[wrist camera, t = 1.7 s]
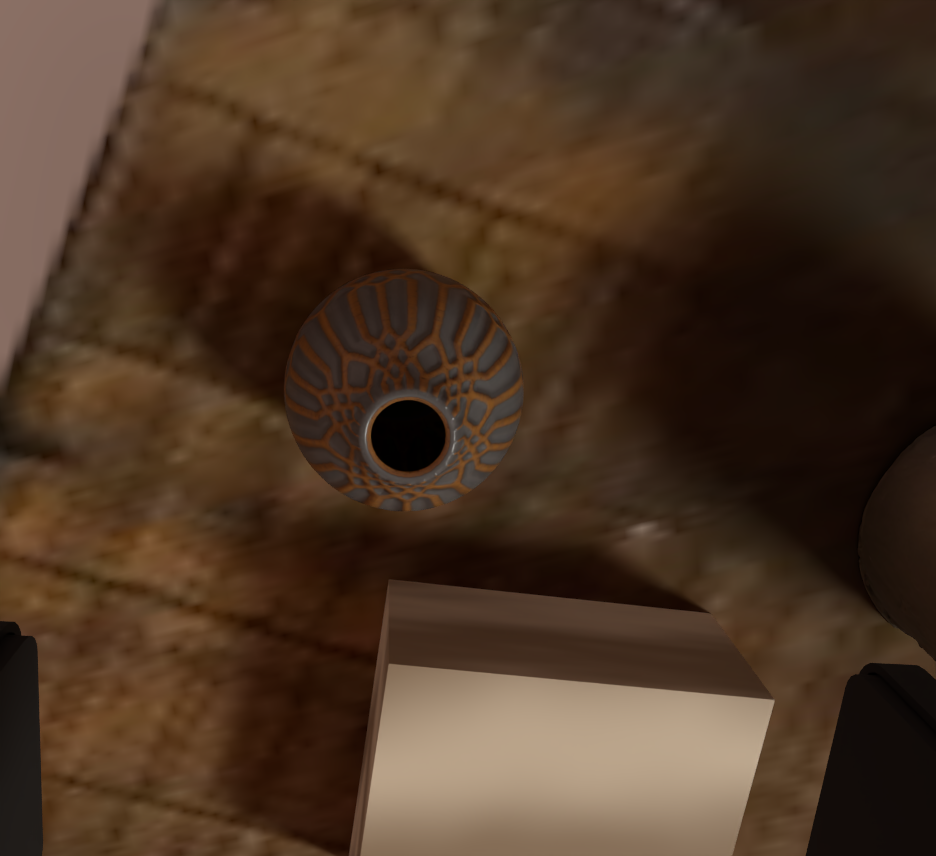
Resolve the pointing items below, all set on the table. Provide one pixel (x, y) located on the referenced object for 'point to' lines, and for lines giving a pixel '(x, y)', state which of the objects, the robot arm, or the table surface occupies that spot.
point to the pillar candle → (904, 543)
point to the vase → (403, 389)
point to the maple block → (554, 729)
